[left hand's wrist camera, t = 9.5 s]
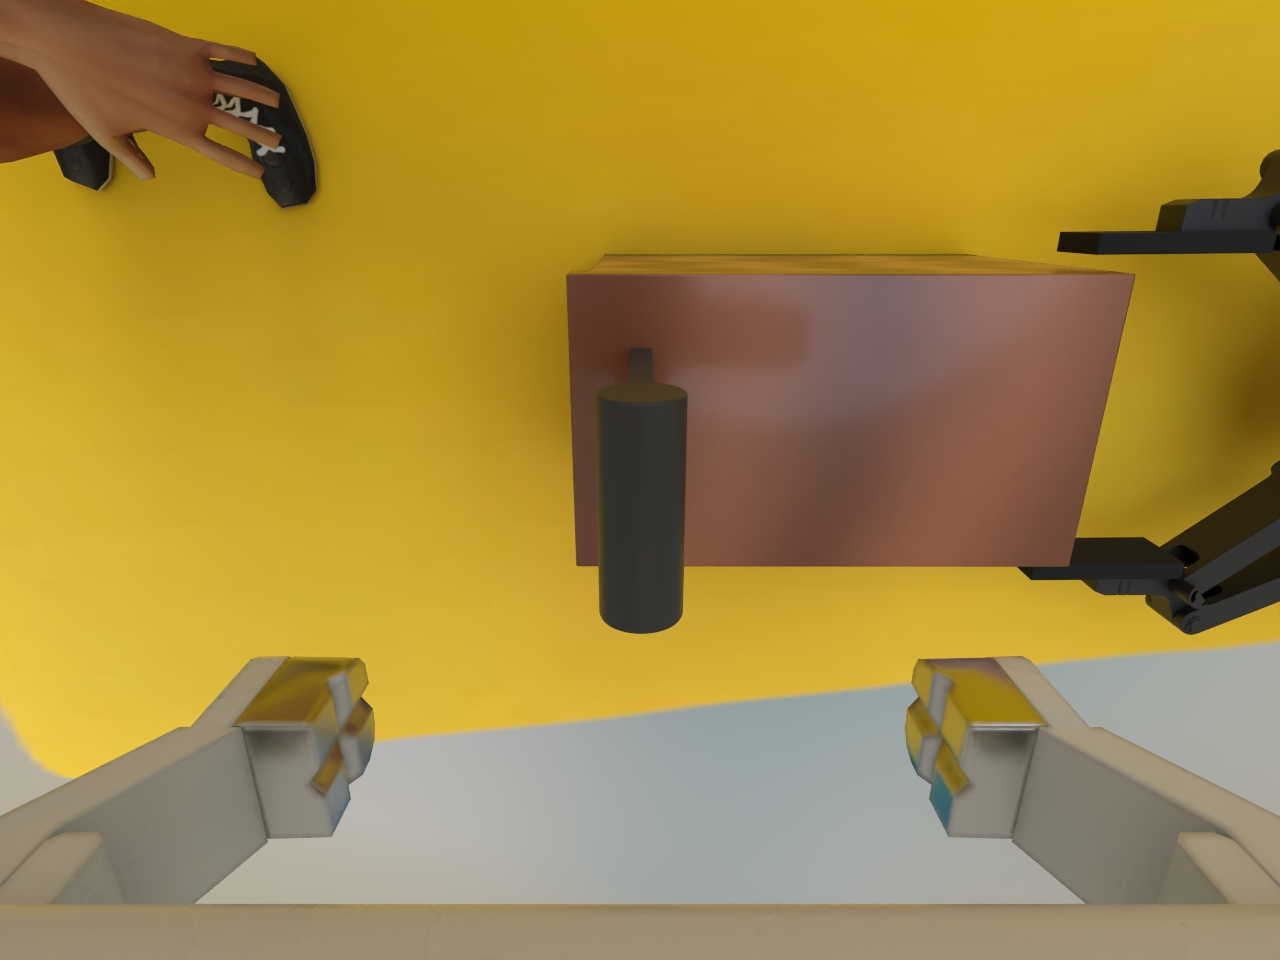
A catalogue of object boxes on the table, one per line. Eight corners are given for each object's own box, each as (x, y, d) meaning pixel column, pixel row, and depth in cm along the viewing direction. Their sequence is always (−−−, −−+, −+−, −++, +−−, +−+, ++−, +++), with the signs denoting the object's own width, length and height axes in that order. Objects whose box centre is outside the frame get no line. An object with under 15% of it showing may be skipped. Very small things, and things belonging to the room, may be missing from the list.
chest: (608, 457, 38) (595, 551, 27) (604, 254, 34) (588, 270, 24) (935, 457, 38) (1049, 551, 27) (965, 254, 34) (1111, 270, 24)
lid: (579, 551, 27) (549, 707, 18) (569, 271, 24) (528, 302, 15) (1050, 551, 27) (1241, 707, 18) (1111, 271, 24) (1383, 302, 15)
